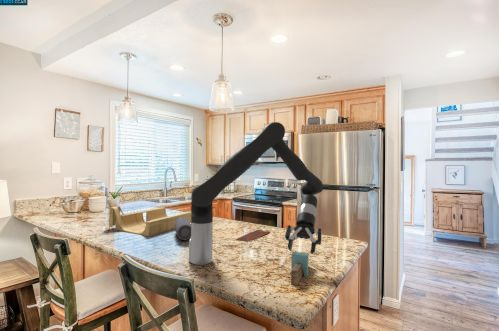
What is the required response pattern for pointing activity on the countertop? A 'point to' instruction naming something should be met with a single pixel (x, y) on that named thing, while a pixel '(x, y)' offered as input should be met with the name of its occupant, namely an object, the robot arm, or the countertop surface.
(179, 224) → the bluetooth speaker
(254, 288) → the countertop surface
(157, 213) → the skate ramp
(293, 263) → the teal notched bridge block
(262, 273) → the countertop surface
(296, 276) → the walnut slotted plate
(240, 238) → the wooden tablet
